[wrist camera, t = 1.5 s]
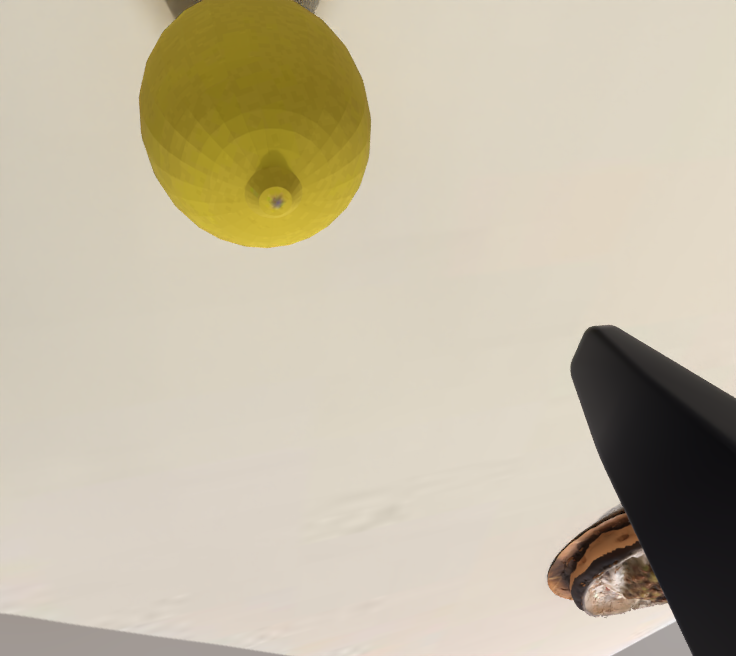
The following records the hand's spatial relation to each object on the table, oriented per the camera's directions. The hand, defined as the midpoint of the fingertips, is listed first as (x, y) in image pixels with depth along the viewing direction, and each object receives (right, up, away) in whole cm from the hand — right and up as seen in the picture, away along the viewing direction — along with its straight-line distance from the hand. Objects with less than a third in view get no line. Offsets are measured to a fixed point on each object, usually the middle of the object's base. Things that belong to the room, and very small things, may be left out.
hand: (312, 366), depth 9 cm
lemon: (-3, +8, +9) cm, 13 cm away
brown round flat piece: (+22, -16, +39) cm, 48 cm away
